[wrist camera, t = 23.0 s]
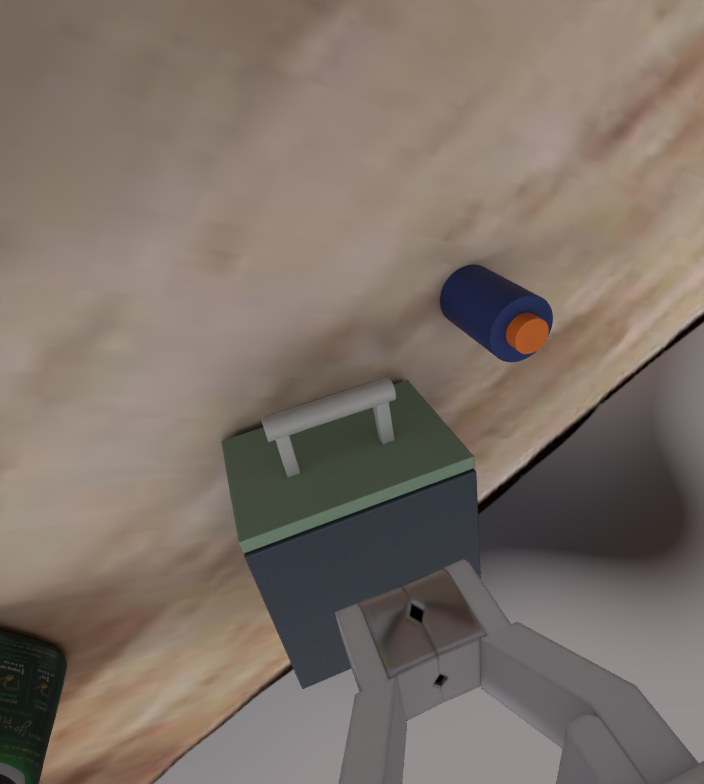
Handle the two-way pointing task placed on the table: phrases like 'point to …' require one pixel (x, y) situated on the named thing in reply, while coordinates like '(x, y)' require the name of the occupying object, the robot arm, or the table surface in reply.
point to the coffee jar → (27, 705)
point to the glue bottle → (496, 312)
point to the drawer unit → (361, 566)
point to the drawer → (336, 459)
